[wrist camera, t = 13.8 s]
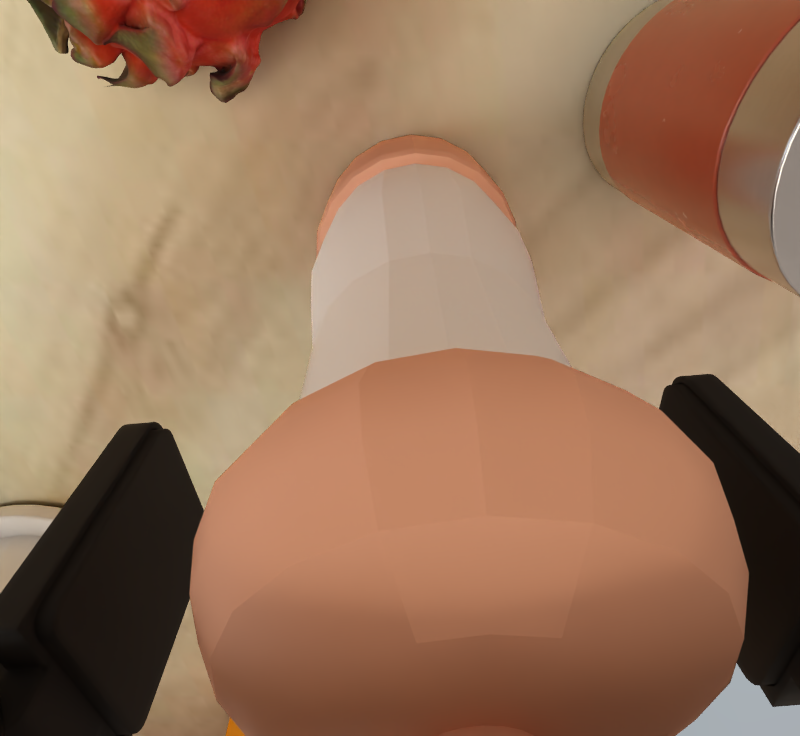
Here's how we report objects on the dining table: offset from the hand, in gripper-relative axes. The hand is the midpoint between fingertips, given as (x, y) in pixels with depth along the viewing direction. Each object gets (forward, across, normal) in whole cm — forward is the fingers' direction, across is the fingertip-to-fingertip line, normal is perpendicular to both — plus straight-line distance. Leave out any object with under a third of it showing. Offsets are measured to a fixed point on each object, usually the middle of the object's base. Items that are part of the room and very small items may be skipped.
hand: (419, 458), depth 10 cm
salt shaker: (+14, -1, -1) cm, 14 cm away
